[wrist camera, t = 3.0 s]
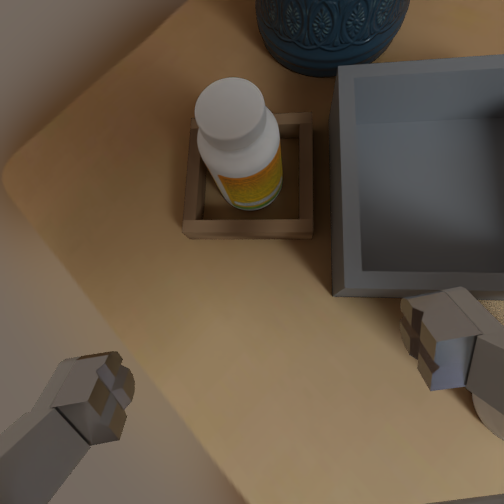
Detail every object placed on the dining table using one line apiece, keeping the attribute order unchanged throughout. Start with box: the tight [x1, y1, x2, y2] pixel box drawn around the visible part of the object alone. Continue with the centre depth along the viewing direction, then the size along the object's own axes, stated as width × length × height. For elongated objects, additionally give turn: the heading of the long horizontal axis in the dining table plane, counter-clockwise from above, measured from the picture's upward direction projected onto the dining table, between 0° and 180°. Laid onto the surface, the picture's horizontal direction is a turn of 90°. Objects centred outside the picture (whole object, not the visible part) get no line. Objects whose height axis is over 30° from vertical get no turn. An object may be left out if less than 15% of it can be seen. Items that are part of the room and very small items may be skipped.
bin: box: [329, 54, 504, 300], centre depth 22 cm, size 15×15×6 cm
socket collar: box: [182, 112, 313, 239], centre depth 26 cm, size 10×10×2 cm
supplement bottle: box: [195, 77, 283, 211], centre depth 22 cm, size 5×5×10 cm
